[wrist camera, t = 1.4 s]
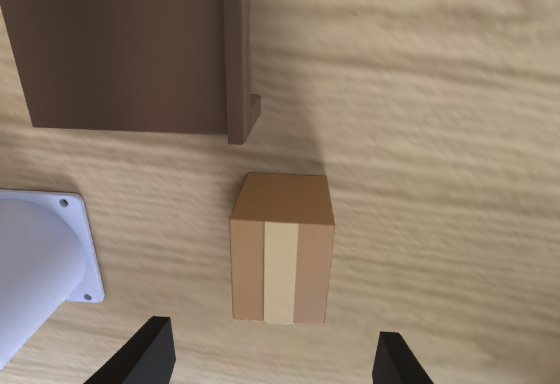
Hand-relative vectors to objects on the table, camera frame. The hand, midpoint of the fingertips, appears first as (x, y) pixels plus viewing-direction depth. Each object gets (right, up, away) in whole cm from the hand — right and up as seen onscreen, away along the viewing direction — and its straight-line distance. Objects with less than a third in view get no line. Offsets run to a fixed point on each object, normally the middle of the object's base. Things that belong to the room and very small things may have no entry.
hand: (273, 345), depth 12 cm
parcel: (+1, +4, +8) cm, 9 cm away
